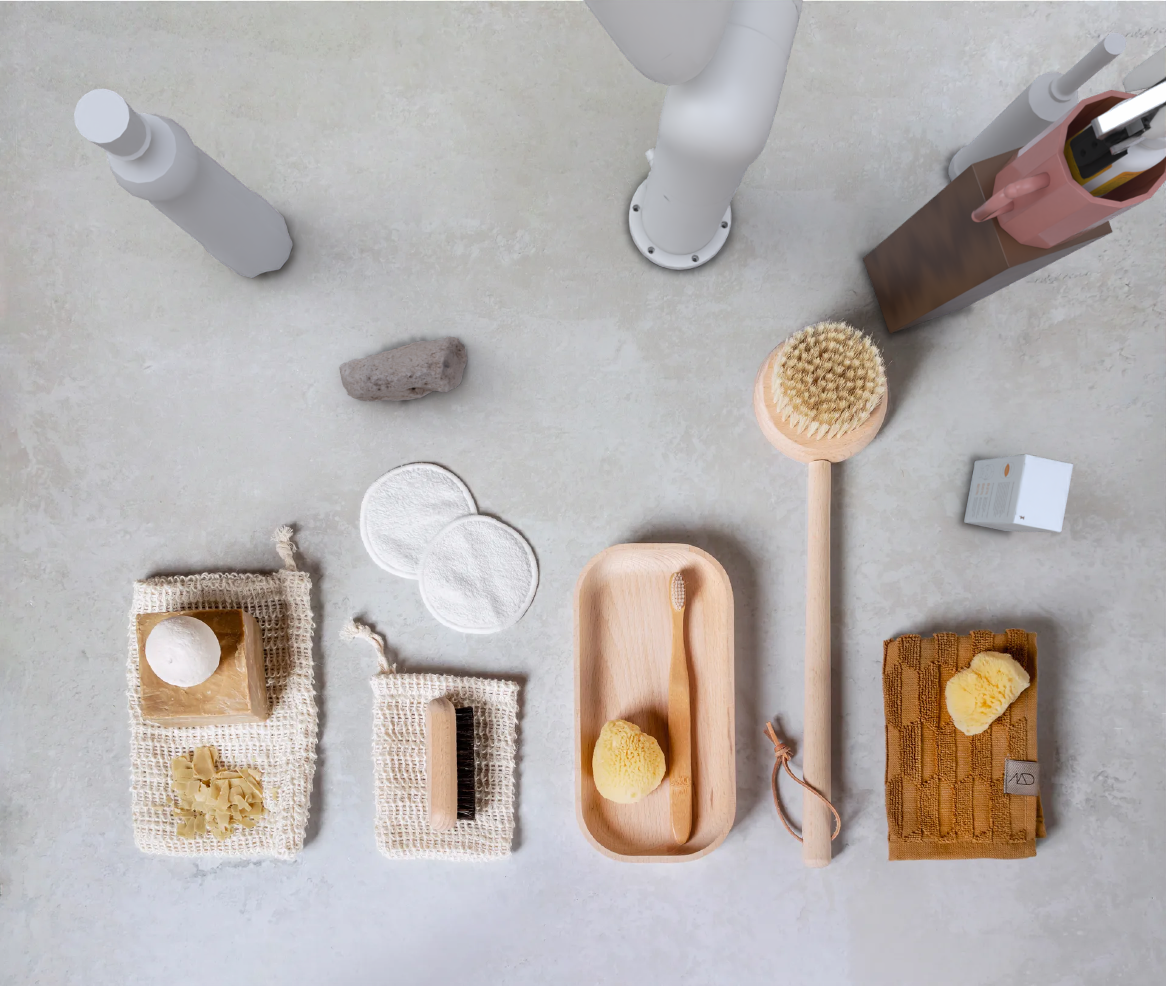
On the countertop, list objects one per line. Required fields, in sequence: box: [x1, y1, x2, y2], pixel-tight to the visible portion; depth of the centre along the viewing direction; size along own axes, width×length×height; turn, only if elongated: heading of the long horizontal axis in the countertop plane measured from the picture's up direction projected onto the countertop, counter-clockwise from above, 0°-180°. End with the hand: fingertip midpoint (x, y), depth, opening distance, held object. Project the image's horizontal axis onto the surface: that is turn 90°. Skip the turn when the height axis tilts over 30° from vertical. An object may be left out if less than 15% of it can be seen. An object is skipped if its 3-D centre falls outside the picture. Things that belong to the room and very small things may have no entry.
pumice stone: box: [339, 336, 468, 402], centre depth 85 cm, size 15×8×10 cm, turn 95°
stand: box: [862, 146, 1113, 334], centre depth 78 cm, size 10×10×25 cm
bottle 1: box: [73, 88, 294, 279], centre depth 75 cm, size 9×9×30 cm
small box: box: [963, 453, 1075, 534], centre depth 85 cm, size 8×6×10 cm
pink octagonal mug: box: [971, 89, 1166, 249], centre depth 61 cm, size 9×12×9 cm
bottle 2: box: [947, 32, 1127, 182], centre depth 78 cm, size 5×5×25 cm
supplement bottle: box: [1063, 98, 1166, 198], centre depth 56 cm, size 5×5×10 cm
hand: (1117, 145), depth 56 cm, fingers closed on supplement bottle, 5 cm apart
